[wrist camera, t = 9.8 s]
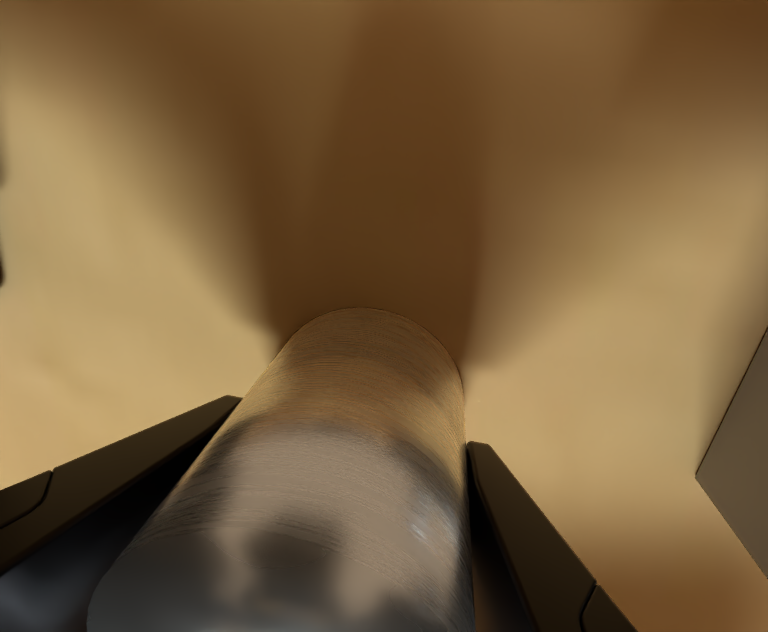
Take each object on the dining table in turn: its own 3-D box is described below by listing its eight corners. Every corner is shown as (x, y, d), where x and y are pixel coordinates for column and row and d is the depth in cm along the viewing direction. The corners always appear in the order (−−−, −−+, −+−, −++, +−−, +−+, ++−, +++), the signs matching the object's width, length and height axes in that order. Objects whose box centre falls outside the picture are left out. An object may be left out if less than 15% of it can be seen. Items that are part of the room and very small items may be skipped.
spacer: (271, 455, 12) (106, 749, 6) (278, 291, 10) (60, 490, 4) (444, 489, 11) (439, 833, 6) (481, 326, 10) (526, 588, 4)
